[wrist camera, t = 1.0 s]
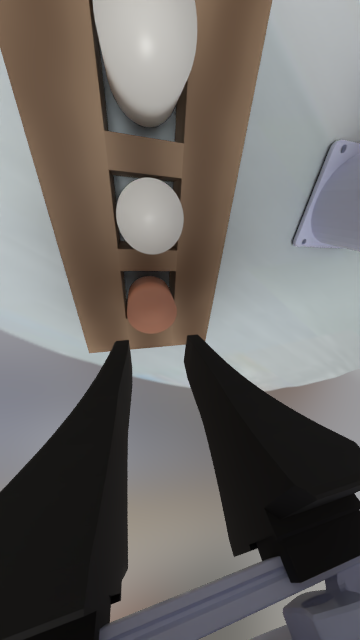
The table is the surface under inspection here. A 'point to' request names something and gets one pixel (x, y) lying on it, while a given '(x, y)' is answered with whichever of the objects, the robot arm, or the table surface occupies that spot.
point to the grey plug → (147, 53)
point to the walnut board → (133, 155)
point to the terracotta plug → (150, 305)
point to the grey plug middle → (149, 215)
